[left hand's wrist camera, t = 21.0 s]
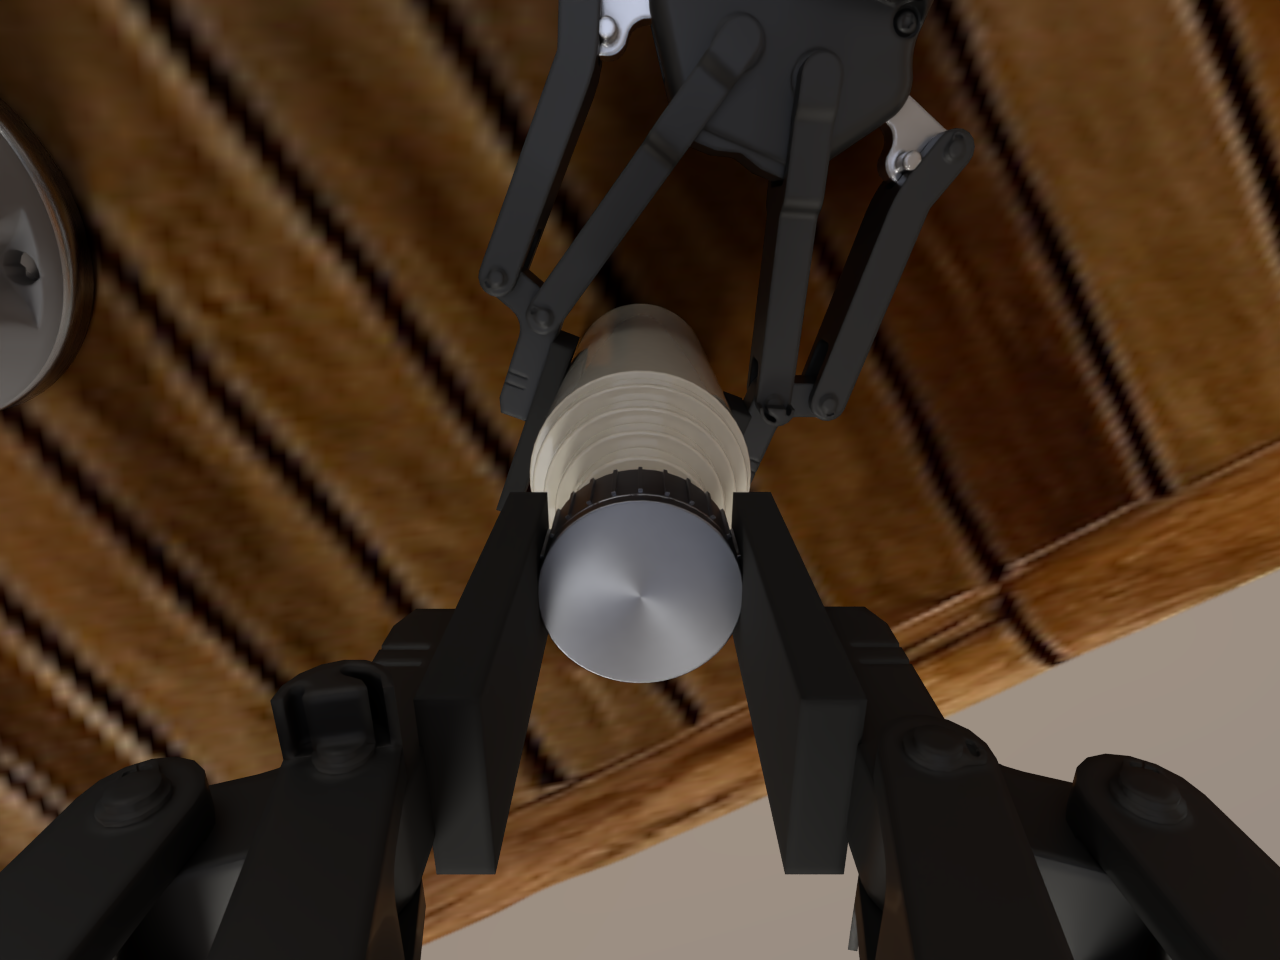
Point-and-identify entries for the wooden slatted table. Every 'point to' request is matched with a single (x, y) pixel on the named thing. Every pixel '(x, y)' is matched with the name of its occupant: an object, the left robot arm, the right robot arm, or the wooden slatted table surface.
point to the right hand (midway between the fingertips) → (593, 525)
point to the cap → (640, 577)
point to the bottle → (640, 412)
